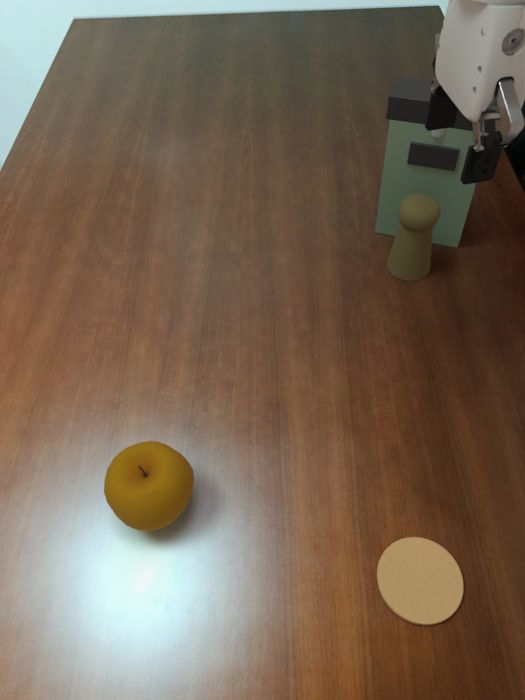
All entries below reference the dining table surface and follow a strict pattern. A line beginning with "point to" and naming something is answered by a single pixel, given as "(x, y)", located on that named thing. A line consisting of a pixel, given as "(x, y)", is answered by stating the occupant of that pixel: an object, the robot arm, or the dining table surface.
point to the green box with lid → (425, 162)
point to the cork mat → (420, 581)
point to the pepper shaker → (413, 238)
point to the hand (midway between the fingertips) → (456, 153)
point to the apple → (148, 485)
